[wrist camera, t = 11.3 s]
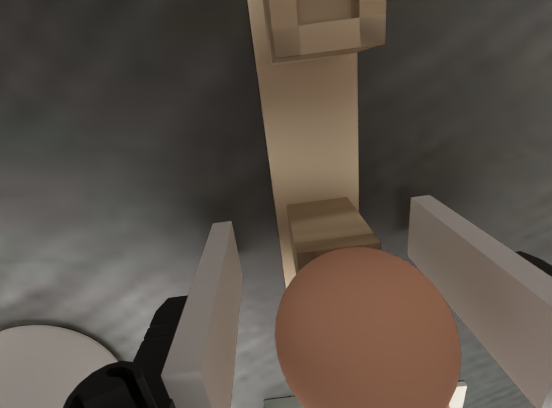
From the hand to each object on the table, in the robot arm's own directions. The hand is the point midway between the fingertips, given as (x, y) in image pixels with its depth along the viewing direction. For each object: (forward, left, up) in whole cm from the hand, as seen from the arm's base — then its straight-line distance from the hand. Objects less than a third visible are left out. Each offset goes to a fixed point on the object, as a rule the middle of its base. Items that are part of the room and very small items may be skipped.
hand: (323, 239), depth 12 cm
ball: (0, 0, +3) cm, 3 cm away
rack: (0, 0, -2) cm, 2 cm away
